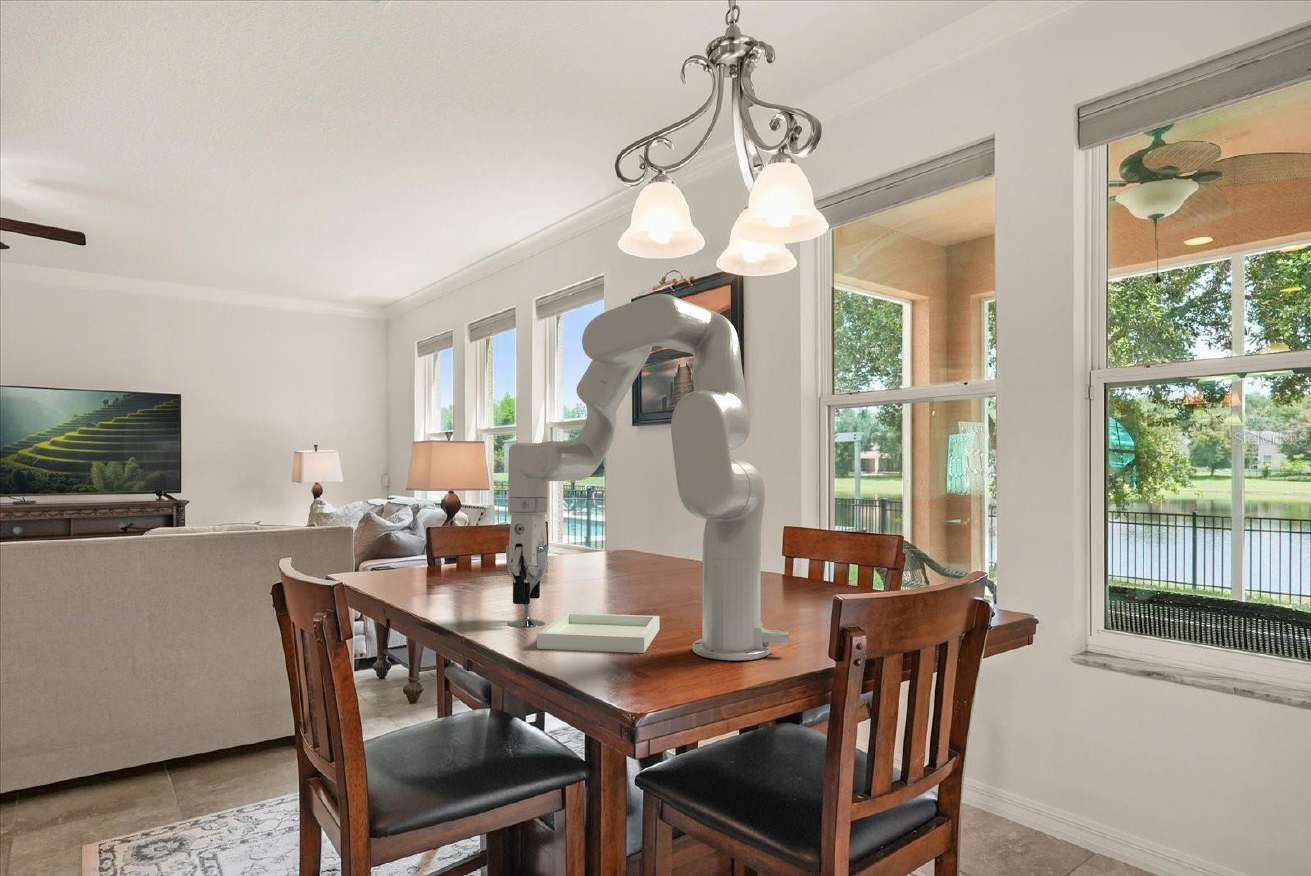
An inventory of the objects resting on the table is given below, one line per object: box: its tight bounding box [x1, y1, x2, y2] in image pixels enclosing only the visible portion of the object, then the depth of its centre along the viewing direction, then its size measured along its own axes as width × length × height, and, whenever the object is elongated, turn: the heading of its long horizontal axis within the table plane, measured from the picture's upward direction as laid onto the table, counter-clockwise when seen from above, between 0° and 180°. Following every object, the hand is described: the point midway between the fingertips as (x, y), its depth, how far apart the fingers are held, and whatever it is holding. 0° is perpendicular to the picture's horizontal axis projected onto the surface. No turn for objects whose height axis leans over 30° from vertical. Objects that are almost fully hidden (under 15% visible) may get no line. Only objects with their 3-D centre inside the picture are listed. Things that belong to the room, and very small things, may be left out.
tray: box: [536, 612, 660, 654], centre depth 134 cm, size 18×18×2 cm
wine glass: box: [505, 543, 549, 629], centre depth 147 cm, size 8×8×15 cm
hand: (526, 600), depth 147 cm, fingers closed on wine glass, 5 cm apart
